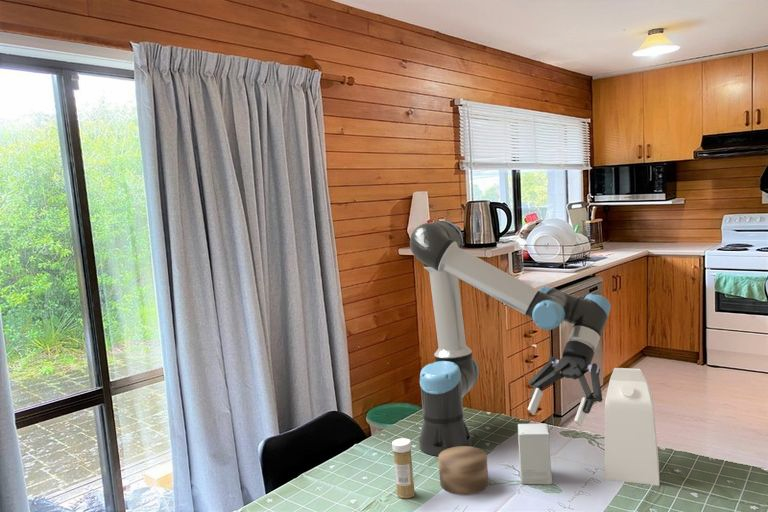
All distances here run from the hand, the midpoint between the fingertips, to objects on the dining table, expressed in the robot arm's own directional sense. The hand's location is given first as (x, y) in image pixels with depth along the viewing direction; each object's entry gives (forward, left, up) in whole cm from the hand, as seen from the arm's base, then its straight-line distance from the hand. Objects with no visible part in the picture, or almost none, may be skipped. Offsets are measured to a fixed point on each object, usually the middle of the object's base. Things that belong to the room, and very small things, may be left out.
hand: (553, 417), depth 147 cm
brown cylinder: (-7, -24, -13) cm, 28 cm away
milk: (+12, +13, -13) cm, 23 cm away
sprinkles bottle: (-10, -39, -13) cm, 42 cm away
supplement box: (+1, -8, -13) cm, 16 cm away
